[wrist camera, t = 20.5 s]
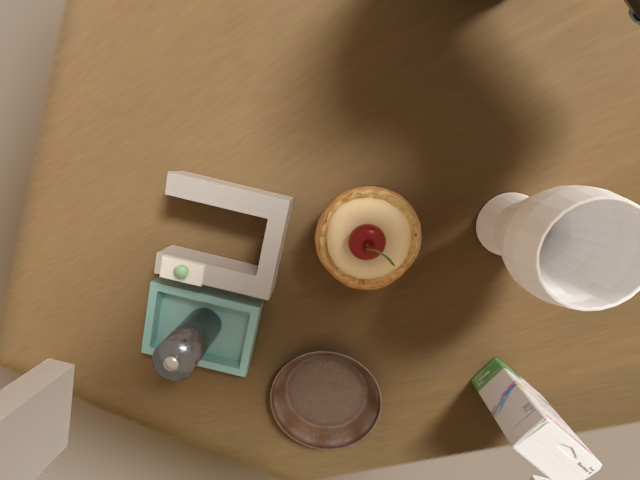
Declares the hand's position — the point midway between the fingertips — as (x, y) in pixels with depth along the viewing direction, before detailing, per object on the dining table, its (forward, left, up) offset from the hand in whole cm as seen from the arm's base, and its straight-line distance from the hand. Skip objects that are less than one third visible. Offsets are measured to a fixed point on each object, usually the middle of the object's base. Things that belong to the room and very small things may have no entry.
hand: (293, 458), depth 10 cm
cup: (-6, +21, -35) cm, 41 cm away
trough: (+16, -13, -35) cm, 40 cm away
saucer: (+22, +5, -35) cm, 42 cm away
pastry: (-1, +4, -35) cm, 35 cm away
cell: (+16, -13, -34) cm, 40 cm away
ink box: (+15, +28, -35) cm, 47 cm away
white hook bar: (+3, -13, -35) cm, 37 cm away
